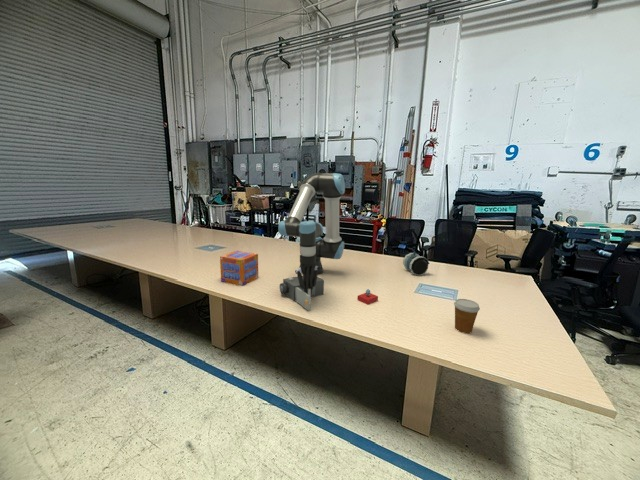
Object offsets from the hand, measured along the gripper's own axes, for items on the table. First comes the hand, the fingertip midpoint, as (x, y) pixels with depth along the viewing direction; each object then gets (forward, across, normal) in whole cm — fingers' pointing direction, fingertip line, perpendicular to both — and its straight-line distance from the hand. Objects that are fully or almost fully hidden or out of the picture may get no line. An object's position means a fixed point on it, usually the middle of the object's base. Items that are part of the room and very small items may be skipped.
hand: (307, 301), depth 137 cm
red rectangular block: (+3, -29, +12) cm, 31 cm away
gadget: (+4, -90, -5) cm, 90 cm away
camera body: (+1, -3, -12) cm, 13 cm away
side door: (+1, +4, 0) cm, 4 cm away
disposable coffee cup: (+4, -43, +54) cm, 69 cm away
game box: (+1, +17, -50) cm, 52 cm away
